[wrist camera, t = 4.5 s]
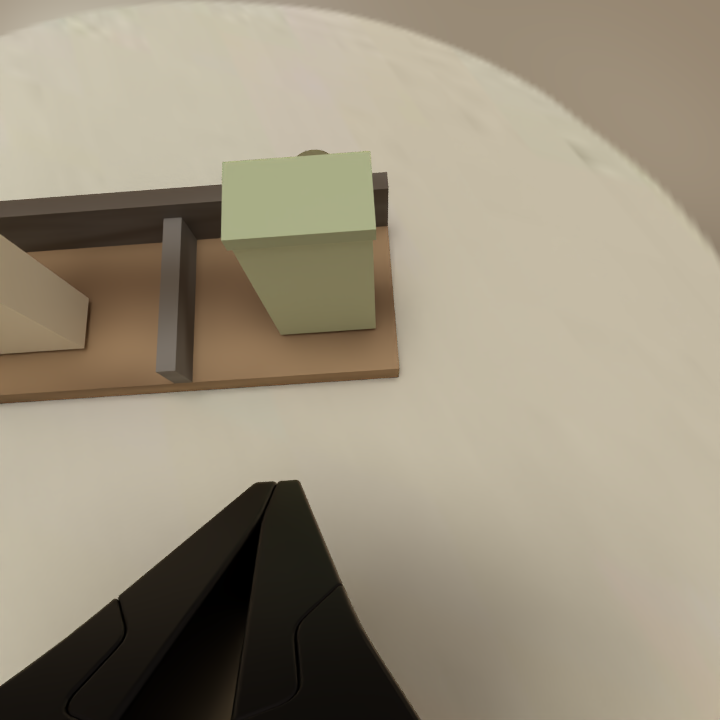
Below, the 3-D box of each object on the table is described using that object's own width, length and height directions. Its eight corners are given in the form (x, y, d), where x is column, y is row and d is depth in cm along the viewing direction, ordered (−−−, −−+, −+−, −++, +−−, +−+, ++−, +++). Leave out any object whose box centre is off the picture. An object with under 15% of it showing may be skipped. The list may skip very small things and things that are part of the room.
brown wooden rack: (398, 377, 24) (402, 339, 19) (-5, 403, 25) (-110, 374, 19) (385, 217, 27) (386, 144, 21) (17, 243, 27) (-71, 179, 22)
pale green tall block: (378, 330, 23) (375, 229, 15) (278, 337, 23) (221, 240, 15) (374, 276, 24) (370, 151, 15) (277, 283, 24) (222, 162, 16)
